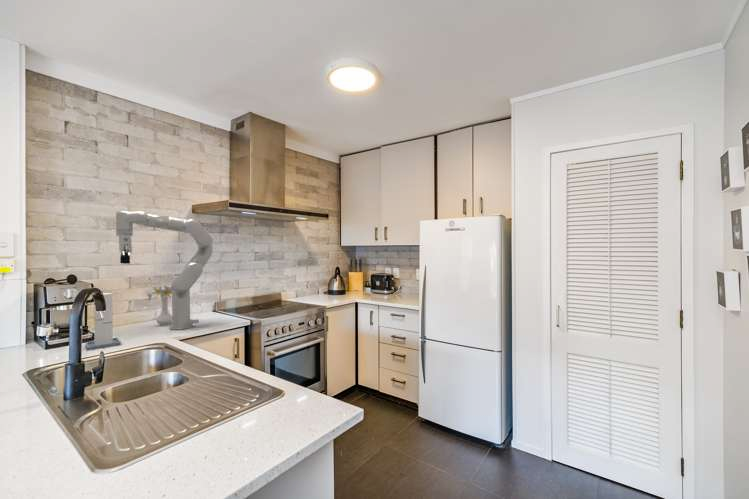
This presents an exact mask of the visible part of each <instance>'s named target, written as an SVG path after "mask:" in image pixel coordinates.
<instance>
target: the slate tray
mask: <svg viewBox="0 0 749 499" xmlns="http://www.w3.org/2000/svg"><path fill="white" fill-rule="evenodd" d="M121 345H122V342H121V340H120V339H119V337H113V343H110V344H104V345H97V346H95V340H92V341H85V349H86V351H92V350H93V351H94V350H98V349H105V348H106V349H107V348H110V347H116V346H117V347H118V346H121Z"/></svg>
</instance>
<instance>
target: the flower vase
mask: <svg viewBox="0 0 749 499" xmlns="http://www.w3.org/2000/svg"><path fill="white" fill-rule="evenodd" d="M145 291H146V295H147V296H148V301H149V302H150V301H151V299H152V296H153V299H157V297H158V296H160V298H161V312H160V313H159V315H158V316H157V318H156V323H157V324H159V326H161V327H163V326H169V325H170V326H171V325H172V314H171V313H170V312H169V309H168V308H169V307H168V306H169V305H168V299H169V300H170V299H172V288H171V286H167V285H163V288H162V285H161V286H160V287H158V288H157V287H153V292H149V291H147V290H145Z"/></svg>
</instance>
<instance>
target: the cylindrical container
mask: <svg viewBox="0 0 749 499" xmlns="http://www.w3.org/2000/svg"><path fill="white" fill-rule="evenodd" d="M102 293H103V292H102ZM103 295H104V297H105V301H106V311H105V312H104V313H103V315H104V317H103V318H101V315H100V314H99V313H97V312H96V311H95V304H94V303H93V314H94V315H93V316H94V318H93V322H94V324H93V326H94V330H93V331H94V334H93V335H94V341H95V346H97V345H104V344H110V343H113V338H114V334H113V333H114V332H113V328H114V326H113V325H114V324H113V322H114V321H113V293H111V292H106V293H103Z"/></svg>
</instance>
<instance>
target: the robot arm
mask: <svg viewBox="0 0 749 499" xmlns="http://www.w3.org/2000/svg"><path fill="white" fill-rule="evenodd" d="M133 224H136V226H137V225H138V226H142V227H149V228H155V229H161V230H166V231H172V232H179V233H184V234H189V235H190V236H191V237H192V238H193V240H194V241H195V244H196V245H197V251H196V252H195V253H194V255H193V256H192V257H191V258H190V260H189V261H188V262H186V264H185V265H184V268H183V270H182V271H181V272H180V273H179V275H177V276H175V277H174V278H173V279H172V281H171V288H172V294H171V312H172V314H171V315H172V322H171V325H170V326H169V330H171V331H172V330H173V331H175V330H176V331H177V330H178V331H179V330H185V329H186V330H187V329H191V328H193V327H194V324H199V322H200V319H198V318H197V319H191V293H190V292H191V290H190V289H191V288H192V287H193V286H194V285H195V283H196V282H197V280H199V278H200V277H201V276H202V273H203V272H204V267H205V265H206V264H207V263H208V262H209V260H210V258H211V257H212V254H213V238H212V235H211V234H210V233H209V232H208V231H207V230H206V228H204V226H203V225H202V224H201V223H200V222H199V221H198V220H197V219H194V218H183V217H178V216H177V217H176V216H173V215H155V214H148V213H147V212H145V211H142V210H138V211H128V210H118V211H116V213H115V225H116V226H115V227H116V228H115V234H116V236H117V237H118V249H119V254H120V261H119V262H120V264H130V263H131V256H130V254H131V253H132V252H133V249H132V248H133V247H132V246H133V245H132V237H133V234H134V230H133Z"/></svg>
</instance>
